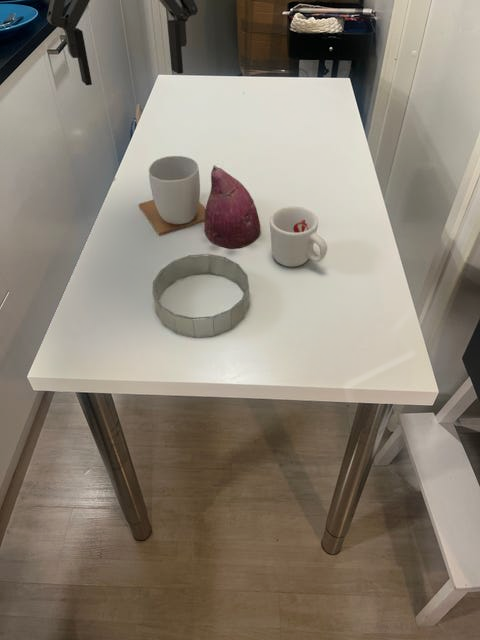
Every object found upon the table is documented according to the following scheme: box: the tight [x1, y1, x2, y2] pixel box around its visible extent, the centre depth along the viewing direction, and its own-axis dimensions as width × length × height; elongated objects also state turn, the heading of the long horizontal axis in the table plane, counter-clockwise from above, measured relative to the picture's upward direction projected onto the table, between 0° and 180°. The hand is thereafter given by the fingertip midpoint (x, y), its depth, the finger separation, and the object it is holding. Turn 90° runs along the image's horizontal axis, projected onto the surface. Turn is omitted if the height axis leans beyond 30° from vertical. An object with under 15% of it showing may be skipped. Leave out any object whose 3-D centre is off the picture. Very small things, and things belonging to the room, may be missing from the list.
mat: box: [138, 199, 206, 236], centre depth 97 cm, size 11×11×1 cm
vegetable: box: [203, 164, 261, 249], centre depth 88 cm, size 10×10×15 cm
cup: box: [269, 205, 328, 267], centre depth 84 cm, size 11×8×8 cm
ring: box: [152, 253, 250, 339], centre depth 78 cm, size 15×15×4 cm
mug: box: [148, 155, 201, 224], centre depth 93 cm, size 13×9×10 cm
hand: (133, 77), depth 72 cm, fingers open, 13 cm apart
